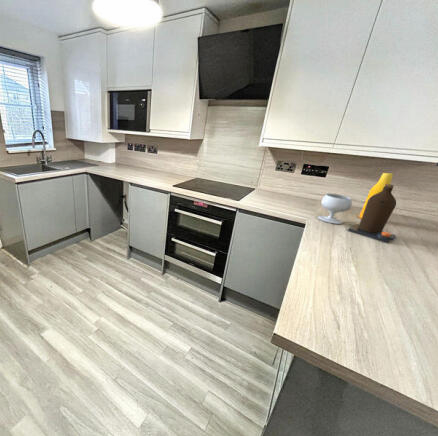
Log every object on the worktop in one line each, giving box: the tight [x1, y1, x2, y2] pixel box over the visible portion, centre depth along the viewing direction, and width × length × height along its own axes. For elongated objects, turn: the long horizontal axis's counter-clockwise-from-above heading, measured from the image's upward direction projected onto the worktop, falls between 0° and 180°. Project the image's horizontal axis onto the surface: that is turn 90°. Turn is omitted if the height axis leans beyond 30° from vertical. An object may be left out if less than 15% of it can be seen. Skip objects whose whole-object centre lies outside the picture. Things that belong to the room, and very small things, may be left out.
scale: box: [347, 223, 396, 244], centre depth 124 cm, size 17×14×3 cm
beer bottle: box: [358, 172, 394, 220], centre depth 143 cm, size 9×9×29 cm
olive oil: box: [358, 183, 397, 234], centre depth 122 cm, size 11×11×25 cm
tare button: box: [382, 231, 392, 237], centre depth 117 cm, size 3×3×2 cm
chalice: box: [317, 193, 353, 225], centre depth 139 cm, size 14×14×15 cm
